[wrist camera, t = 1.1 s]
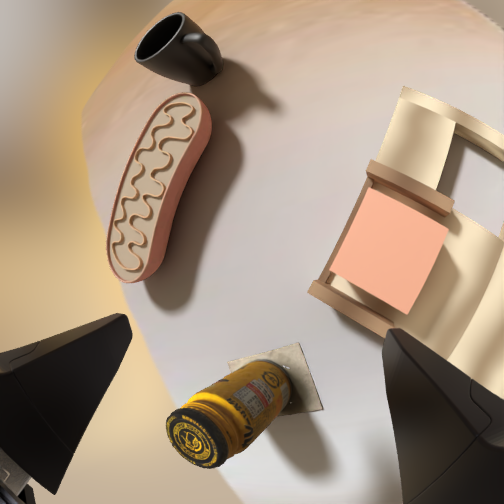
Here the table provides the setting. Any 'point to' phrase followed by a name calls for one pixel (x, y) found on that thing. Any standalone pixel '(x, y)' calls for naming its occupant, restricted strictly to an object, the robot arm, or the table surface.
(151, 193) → the anatomical model
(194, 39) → the mug
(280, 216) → the table surface
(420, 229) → the coral block
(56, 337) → the robot arm
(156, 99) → the table surface
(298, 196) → the table surface
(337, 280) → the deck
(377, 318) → the cubby
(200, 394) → the condiment
